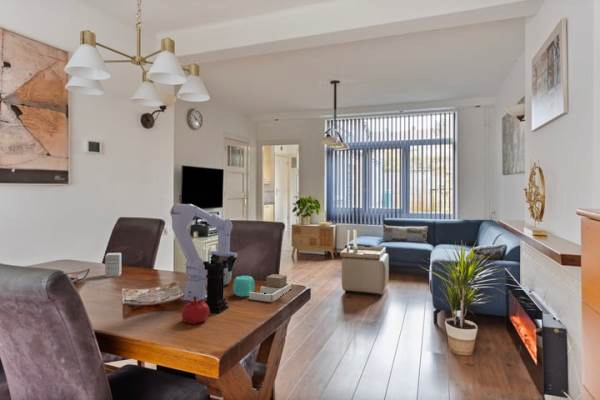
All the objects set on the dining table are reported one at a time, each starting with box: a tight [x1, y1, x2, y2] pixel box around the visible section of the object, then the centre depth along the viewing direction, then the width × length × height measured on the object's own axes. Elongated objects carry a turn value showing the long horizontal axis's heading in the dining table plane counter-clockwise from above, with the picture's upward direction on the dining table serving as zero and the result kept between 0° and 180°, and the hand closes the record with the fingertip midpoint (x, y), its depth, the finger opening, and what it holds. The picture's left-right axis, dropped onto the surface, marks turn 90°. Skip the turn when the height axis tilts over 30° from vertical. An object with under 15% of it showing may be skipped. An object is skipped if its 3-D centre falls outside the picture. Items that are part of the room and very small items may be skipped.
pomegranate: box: [181, 296, 211, 325], centre depth 131 cm, size 10×10×9 cm
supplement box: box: [104, 252, 122, 278], centre depth 203 cm, size 7×7×13 cm
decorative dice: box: [232, 275, 256, 298], centre depth 168 cm, size 8×8×8 cm
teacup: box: [224, 267, 233, 286], centre depth 187 cm, size 14×11×8 cm
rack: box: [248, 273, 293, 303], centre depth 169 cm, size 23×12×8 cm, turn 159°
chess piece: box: [203, 258, 229, 315], centre depth 144 cm, size 8×8×20 cm
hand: (223, 270), depth 173 cm, fingers open, 7 cm apart
